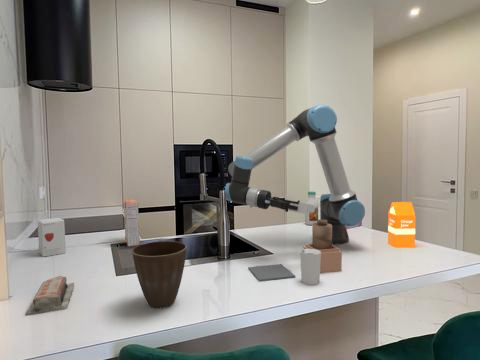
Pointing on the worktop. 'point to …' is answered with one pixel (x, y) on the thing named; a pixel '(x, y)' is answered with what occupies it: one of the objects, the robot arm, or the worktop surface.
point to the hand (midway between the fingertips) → (311, 209)
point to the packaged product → (51, 296)
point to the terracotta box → (329, 259)
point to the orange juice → (401, 225)
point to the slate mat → (271, 272)
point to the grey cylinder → (310, 266)
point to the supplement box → (51, 236)
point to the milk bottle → (313, 216)
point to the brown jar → (321, 235)
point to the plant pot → (160, 271)
